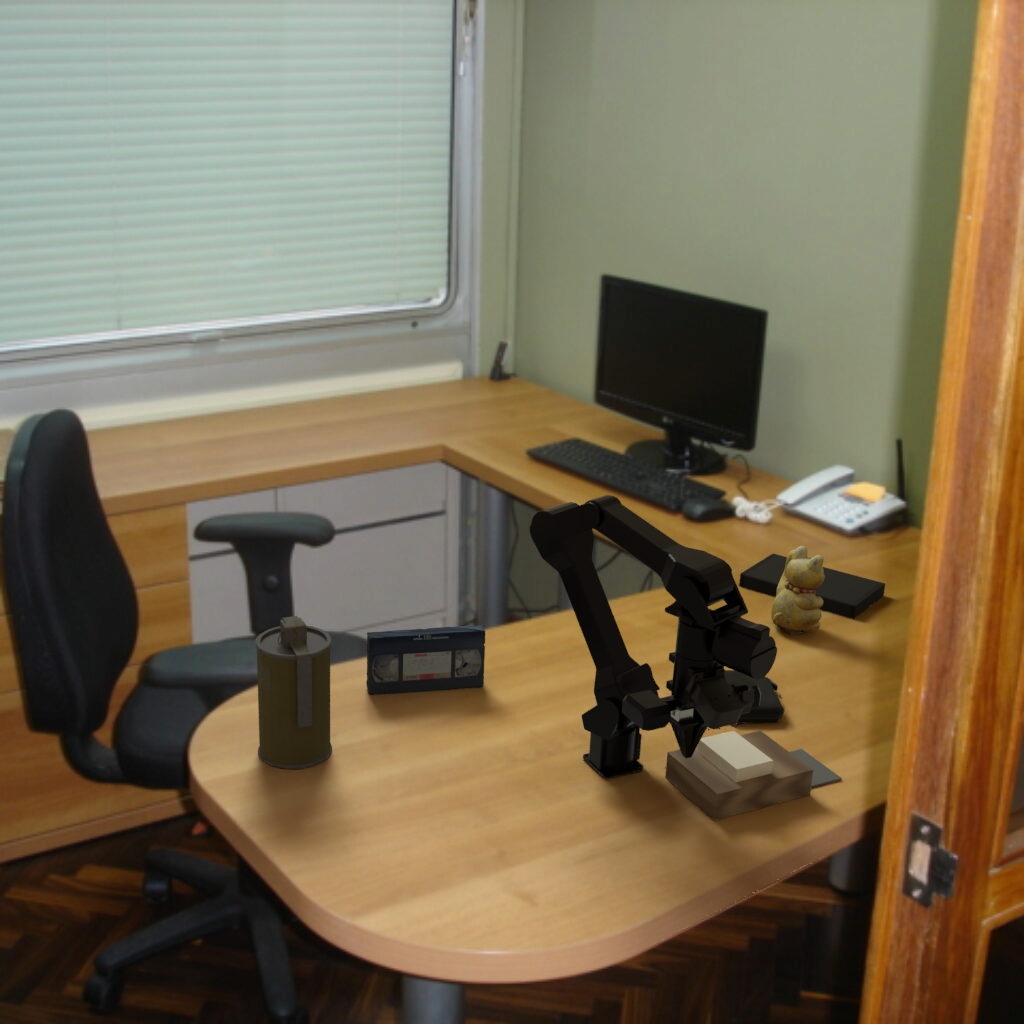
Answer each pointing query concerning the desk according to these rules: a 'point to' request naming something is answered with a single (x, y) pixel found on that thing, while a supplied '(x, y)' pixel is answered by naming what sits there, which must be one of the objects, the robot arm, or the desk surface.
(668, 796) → the desk surface
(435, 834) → the desk surface
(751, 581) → the external hard drive
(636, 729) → the robot arm
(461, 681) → the vhs cassette tape
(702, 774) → the riser
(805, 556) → the decorative figurine
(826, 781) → the mat
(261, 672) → the canister
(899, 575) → the desk surface
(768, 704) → the carrying case or bag
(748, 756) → the cream rectangular box
